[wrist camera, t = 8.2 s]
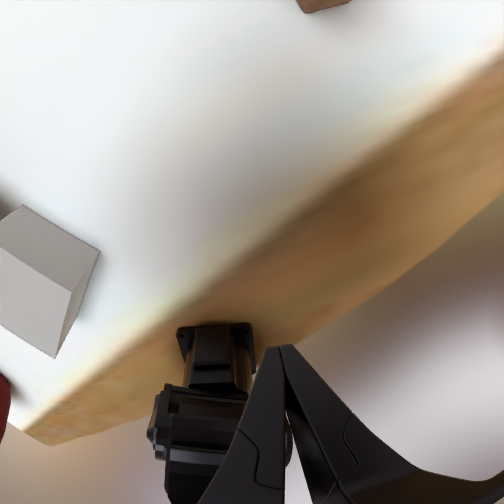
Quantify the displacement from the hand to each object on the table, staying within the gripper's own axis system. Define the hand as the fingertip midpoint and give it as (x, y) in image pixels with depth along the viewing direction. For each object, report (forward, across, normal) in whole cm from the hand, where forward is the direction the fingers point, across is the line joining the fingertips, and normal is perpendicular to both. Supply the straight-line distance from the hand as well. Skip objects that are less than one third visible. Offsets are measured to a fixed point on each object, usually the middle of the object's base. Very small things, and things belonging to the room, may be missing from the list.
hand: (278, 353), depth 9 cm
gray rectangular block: (+13, +23, -2) cm, 26 cm away
